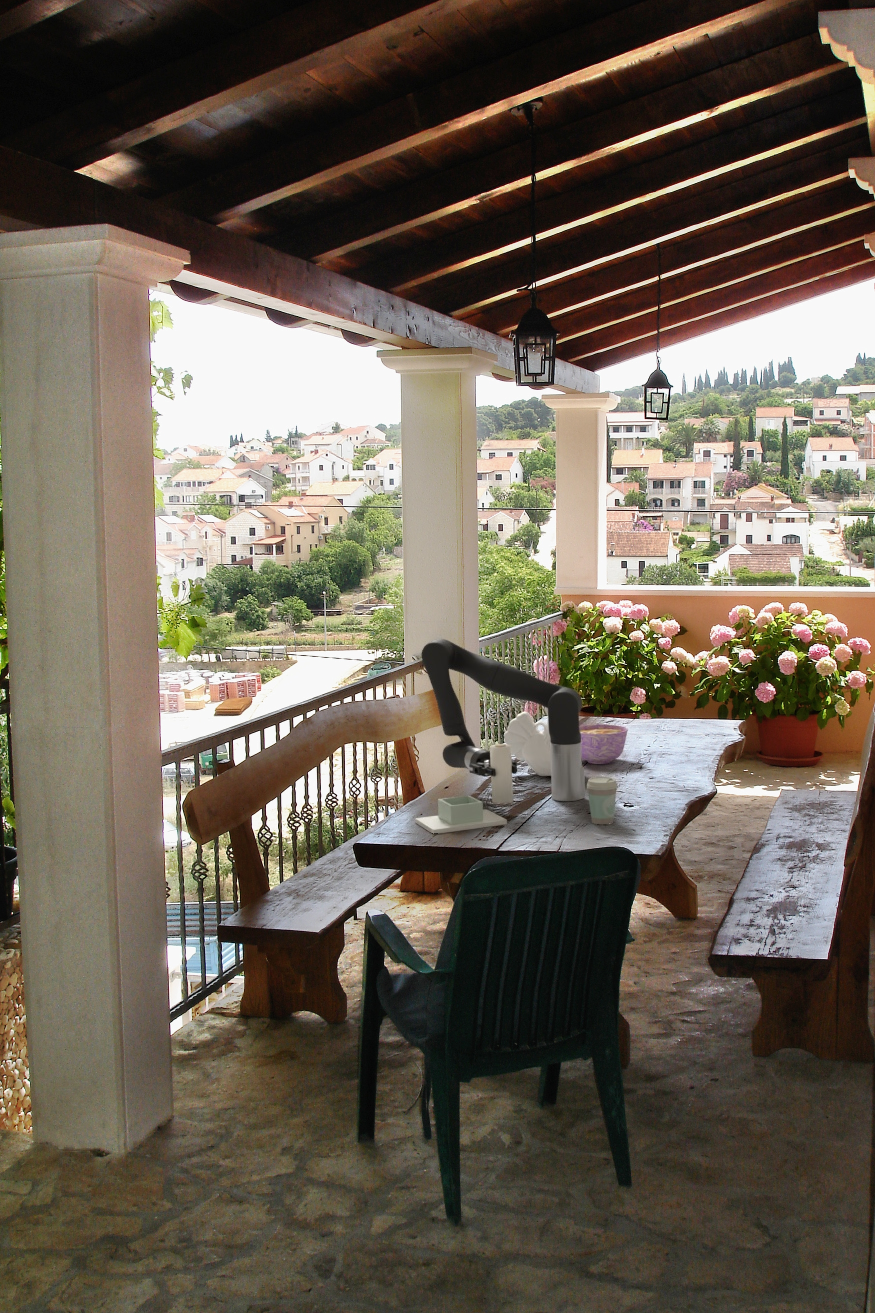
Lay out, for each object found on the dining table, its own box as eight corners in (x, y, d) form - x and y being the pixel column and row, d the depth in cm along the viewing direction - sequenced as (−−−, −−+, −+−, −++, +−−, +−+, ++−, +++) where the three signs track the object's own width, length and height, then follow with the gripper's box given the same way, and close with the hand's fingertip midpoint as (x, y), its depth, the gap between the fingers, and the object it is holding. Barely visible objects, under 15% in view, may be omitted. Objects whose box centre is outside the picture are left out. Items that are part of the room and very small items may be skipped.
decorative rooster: (587, 772, 374) (586, 698, 372) (568, 781, 361) (566, 705, 358) (520, 766, 387) (518, 695, 384) (499, 775, 373) (497, 702, 371)
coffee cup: (602, 828, 302) (601, 784, 301) (580, 822, 309) (579, 779, 308) (624, 822, 307) (624, 779, 306) (602, 817, 314) (602, 775, 313)
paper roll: (507, 797, 323) (505, 742, 322) (516, 801, 318) (514, 746, 316) (488, 800, 321) (486, 745, 320) (497, 804, 316) (495, 748, 314)
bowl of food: (626, 755, 400) (625, 723, 398) (630, 767, 380) (629, 733, 379) (570, 756, 402) (569, 724, 400) (571, 767, 382) (570, 734, 381)
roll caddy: (486, 813, 323) (485, 791, 322) (507, 824, 310) (506, 801, 309) (415, 822, 315) (414, 800, 314) (433, 834, 302) (432, 810, 301)
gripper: (458, 752, 329) (481, 761, 313) (502, 746, 334) (527, 755, 318) (459, 777, 330) (482, 787, 314) (503, 771, 335) (528, 781, 319)
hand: (505, 771), depth 316 cm, fingers closed on paper roll, 6 cm apart
